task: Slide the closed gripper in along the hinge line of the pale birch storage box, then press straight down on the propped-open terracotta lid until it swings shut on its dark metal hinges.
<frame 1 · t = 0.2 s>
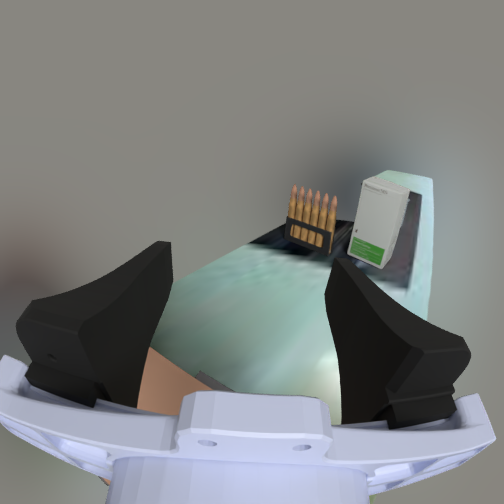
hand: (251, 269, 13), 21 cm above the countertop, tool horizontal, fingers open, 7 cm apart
lid: (180, 458, 16), point 7 cm above the countertop, hinge at 26.0°
ammunition clip: (307, 246, 60), on the countertop
skincare box: (370, 257, 57), on the countertop
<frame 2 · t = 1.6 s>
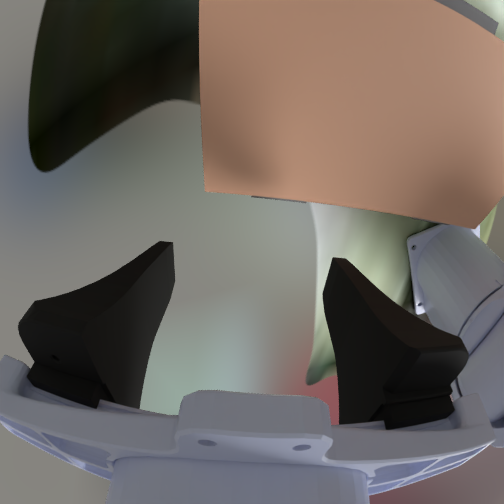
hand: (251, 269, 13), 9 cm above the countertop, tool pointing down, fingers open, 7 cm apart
lid: (405, 116, 11), point 7 cm above the countertop, hinge at 26.0°
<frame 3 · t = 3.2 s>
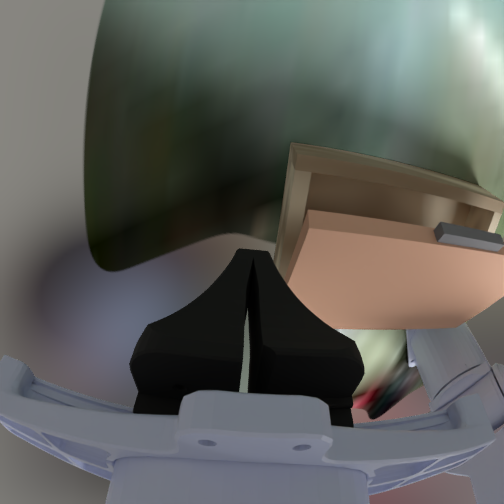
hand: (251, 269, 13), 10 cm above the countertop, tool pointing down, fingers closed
lid: (416, 291, 17), point 7 cm above the countertop, hinge at 26.0°
storage box: (384, 230, 23), on the countertop
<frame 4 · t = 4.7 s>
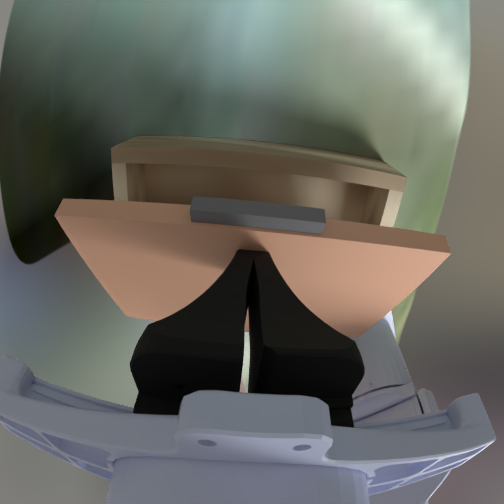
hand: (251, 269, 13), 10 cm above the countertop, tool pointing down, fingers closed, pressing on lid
lid: (248, 288, 16), point 7 cm above the countertop, hinge at 25.6°, touching gripper
storage box: (253, 220, 22), on the countertop
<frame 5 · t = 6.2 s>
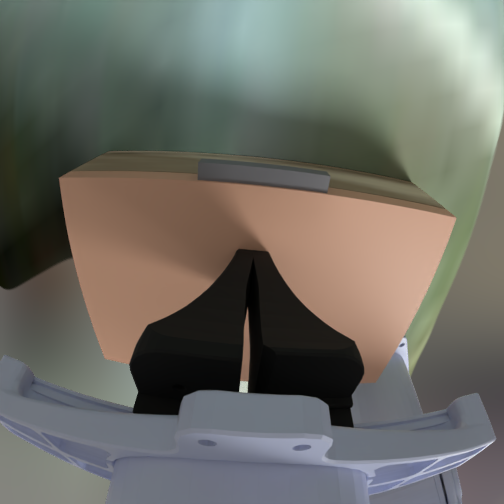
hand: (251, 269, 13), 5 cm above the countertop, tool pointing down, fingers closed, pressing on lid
lid: (249, 300, 14), point 5 cm above the countertop, hinge at -0.5°, touching gripper
storage box: (252, 253, 18), on the countertop
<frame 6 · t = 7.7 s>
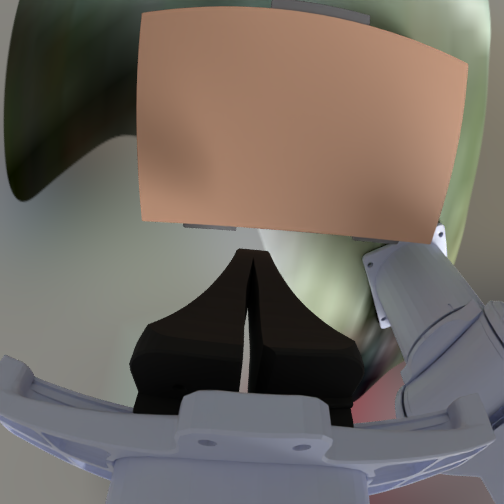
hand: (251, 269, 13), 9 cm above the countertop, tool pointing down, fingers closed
lid: (311, 121, 14), point 5 cm above the countertop, hinge at -0.5°
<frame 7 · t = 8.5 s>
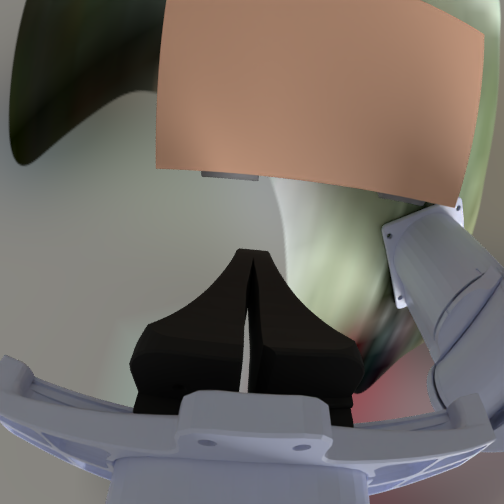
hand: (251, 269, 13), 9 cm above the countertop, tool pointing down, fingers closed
lid: (339, 71, 12), point 5 cm above the countertop, hinge at -0.5°
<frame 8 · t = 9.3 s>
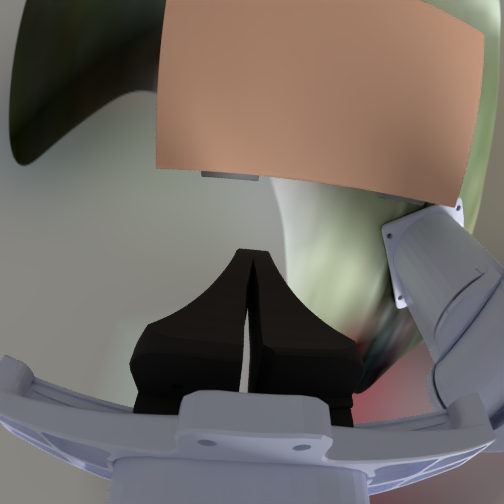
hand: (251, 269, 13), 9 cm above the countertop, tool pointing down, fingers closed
lid: (339, 71, 12), point 5 cm above the countertop, hinge at -0.5°
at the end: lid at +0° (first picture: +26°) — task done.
